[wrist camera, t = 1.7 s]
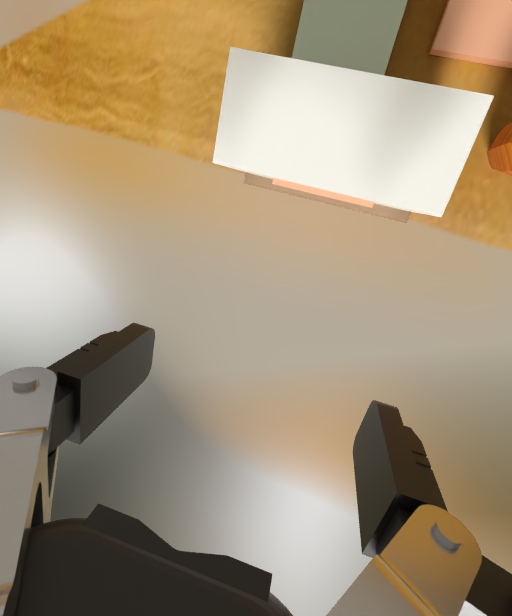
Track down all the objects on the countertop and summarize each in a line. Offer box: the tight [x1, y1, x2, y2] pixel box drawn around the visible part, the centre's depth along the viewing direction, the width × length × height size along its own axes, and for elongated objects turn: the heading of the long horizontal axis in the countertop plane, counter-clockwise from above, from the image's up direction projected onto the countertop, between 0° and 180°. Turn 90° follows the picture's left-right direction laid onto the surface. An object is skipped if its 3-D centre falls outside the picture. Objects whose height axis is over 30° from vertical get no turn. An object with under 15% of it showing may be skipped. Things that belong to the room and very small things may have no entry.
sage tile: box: [292, 0, 408, 75], centre depth 26 cm, size 8×8×1 cm
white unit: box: [213, 47, 494, 223], centre depth 24 cm, size 16×8×13 cm, turn 77°
